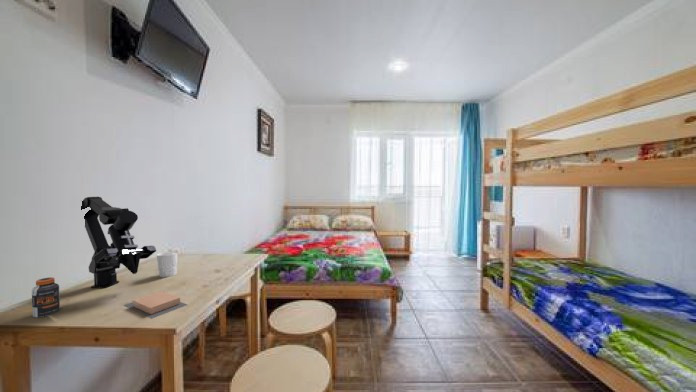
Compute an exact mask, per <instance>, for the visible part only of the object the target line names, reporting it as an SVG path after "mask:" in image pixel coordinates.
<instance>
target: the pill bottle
mask: <svg viewBox="0 0 696 392" xmlns="http://www.w3.org/2000/svg"><path fill="white" fill-rule="evenodd" d="M55 281H56V280H55V277H43V278H39V279H37V280H36V281H35V286H34V287H33V288H32V289H31V302H32V304H31V305H32V307H31V308H32V317H34V318H44V316H45V317H48V315H49V316H51V315H52V314H55V313H58V312H59V311H61V301H60V300H61V299H60V285H59V284H58V283H55Z"/></svg>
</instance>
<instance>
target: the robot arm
mask: <svg viewBox="0 0 696 392" xmlns="http://www.w3.org/2000/svg"><path fill="white" fill-rule="evenodd" d="M81 201H82V200H81ZM87 207H90V208H91V210H89V211H88V212H87V213H86V214H85V216H84V219H85V226H84V228H85V231H86V233H87V236H88V239H89V241H90V243H91V246H92V248H93V255H92V256H91V260H90V262H89V265H88V272H89V273H91V274H93V278H94V279H93V282H94V285H91V286H90V288H91V289H93V288H99V289H101V288H104V289H105V288H108V287H111V286H114V285H115V284H118V283H120V280H117V279H118V278H117V272H116V269H120V268H121V265H123V266H124V267H125V269H127V270H128V271H129V272H130V273H132V274H133V275H136V274H138V271H139V270H138V269H139V264H140V261H141V260H143V259H144V260H146V259H148V258H149V257H151V256H152V255H153V254H154V253H156V252H157V249H156V247H155V245H144V246H143V247H141V248H140V249H137V248H139V245H138V244H135V243H134V239H135V235H131V233H130V230H131V229H132V228H133V226H134V225H135V224H136V222H137V221H138V219H139V218H138V213H135V212H134V211H132V210H129V208H128V207H126V208H121V207H115V206H111V204H109V203H108V202H106V201H105V200H103V198H102V197H101V196H87V197H85V198H84V199H83V201H82V206H81V210H82V209H85V208H87ZM101 224H102V225H104V226H107V225H110V226H109V227H108V228H107V230H108V231H107V235H109V236H110V238H111V243H110V245H109V243H108V241H107V237H106V236H105V233H104V231H103V228H102V226H101Z"/></svg>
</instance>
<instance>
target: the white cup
mask: <svg viewBox="0 0 696 392" xmlns="http://www.w3.org/2000/svg"><path fill="white" fill-rule="evenodd" d="M156 262H157V269H158V277H159V278H169V277H174V276H175V275H177V274H178V272H177V271H178V251H175V250H172V251H163V252H160V253H157V254H156Z"/></svg>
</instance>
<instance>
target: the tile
mask: <svg viewBox="0 0 696 392" xmlns="http://www.w3.org/2000/svg"><path fill="white" fill-rule="evenodd" d="M180 302H181V297H179V296H177V295H173V294H171V293H169V292H165V291H162V290H161V291H157V292H153V293H151V294H147V295H145V296H142V297H138V298H135V299H132V301H131V303H133V306H134V307H136V308H138V309H140V310H143V311H145V312H147V313H149V314H153V313H156V312H159V311H162V310H164V309H167V308H170V307H172V306H175V305H178V304H180Z"/></svg>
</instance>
